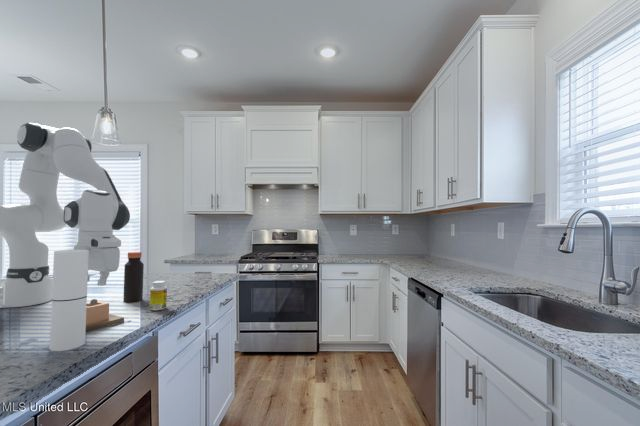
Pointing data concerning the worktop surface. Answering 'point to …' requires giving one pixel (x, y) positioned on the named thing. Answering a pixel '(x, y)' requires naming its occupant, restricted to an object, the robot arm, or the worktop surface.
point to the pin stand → (104, 323)
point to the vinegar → (133, 278)
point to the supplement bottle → (158, 296)
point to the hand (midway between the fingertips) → (93, 283)
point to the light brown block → (97, 312)
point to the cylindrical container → (69, 299)
